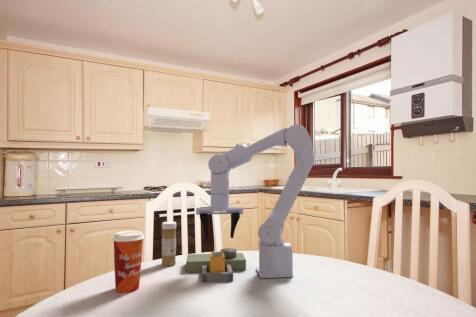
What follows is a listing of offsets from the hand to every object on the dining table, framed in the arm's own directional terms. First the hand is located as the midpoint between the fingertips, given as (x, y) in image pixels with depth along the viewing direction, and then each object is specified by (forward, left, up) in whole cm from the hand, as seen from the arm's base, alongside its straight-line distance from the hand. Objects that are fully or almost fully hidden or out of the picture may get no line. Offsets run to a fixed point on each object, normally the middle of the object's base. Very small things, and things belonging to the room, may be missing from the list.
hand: (219, 237), depth 91 cm
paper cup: (+24, +13, -10) cm, 29 cm away
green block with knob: (+1, +2, -9) cm, 10 cm away
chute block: (+1, +6, -10) cm, 11 cm away
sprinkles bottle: (+16, -6, -10) cm, 20 cm away
